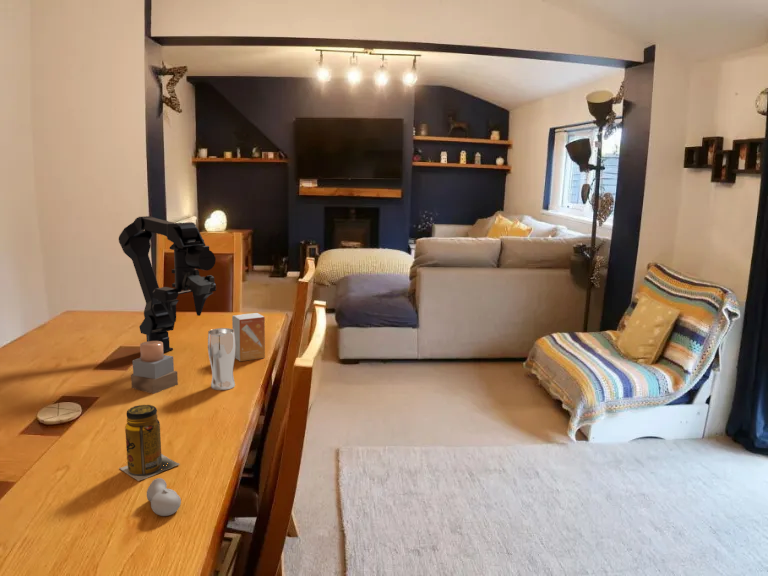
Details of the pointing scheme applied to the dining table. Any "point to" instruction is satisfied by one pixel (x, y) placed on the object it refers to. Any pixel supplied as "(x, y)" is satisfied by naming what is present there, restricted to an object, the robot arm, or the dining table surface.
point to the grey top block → (153, 367)
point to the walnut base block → (154, 382)
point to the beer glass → (222, 357)
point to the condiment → (144, 443)
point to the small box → (249, 336)
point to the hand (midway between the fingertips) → (186, 318)
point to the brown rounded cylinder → (151, 351)
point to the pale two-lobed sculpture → (162, 498)
